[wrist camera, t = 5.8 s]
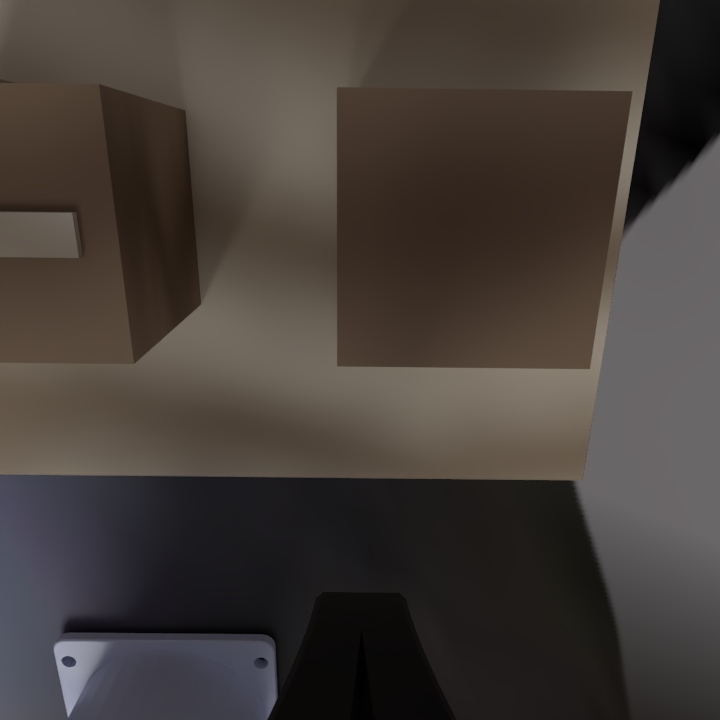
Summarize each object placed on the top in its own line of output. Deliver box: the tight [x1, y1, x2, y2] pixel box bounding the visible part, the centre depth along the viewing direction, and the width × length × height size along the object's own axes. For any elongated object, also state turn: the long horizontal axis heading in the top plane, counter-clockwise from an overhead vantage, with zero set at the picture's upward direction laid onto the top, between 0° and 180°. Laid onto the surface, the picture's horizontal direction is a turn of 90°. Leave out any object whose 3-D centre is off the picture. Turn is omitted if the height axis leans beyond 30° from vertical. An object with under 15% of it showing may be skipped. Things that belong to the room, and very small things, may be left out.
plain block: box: [337, 87, 633, 369], centre depth 13 cm, size 5×5×5 cm
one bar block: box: [0, 79, 201, 364], centre depth 13 cm, size 5×5×5 cm
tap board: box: [0, 0, 660, 480], centre depth 16 cm, size 16×28×1 cm, turn 89°
